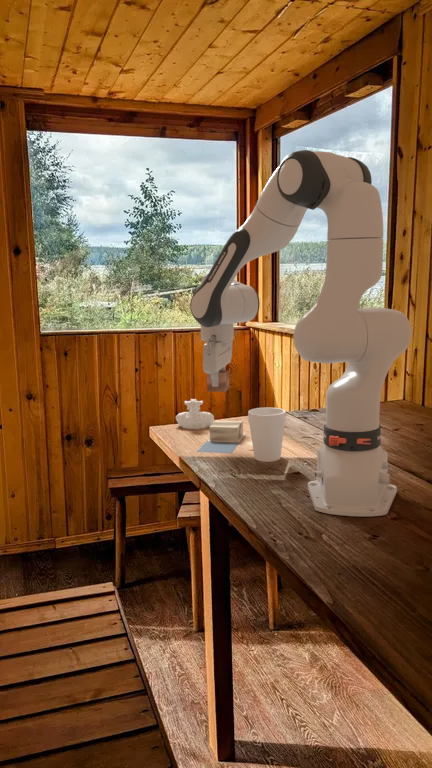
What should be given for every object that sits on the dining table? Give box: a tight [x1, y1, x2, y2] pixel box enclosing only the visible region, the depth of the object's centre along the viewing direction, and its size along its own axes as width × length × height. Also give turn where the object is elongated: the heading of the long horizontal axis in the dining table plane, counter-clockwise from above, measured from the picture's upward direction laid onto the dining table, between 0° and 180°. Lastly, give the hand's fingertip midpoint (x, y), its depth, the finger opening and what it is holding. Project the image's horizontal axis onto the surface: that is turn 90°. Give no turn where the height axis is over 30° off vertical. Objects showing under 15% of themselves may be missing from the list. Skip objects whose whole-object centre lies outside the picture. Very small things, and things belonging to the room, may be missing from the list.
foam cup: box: [247, 407, 287, 463], centre depth 151 cm, size 10×9×13 cm
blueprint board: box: [196, 433, 247, 454], centre depth 167 cm, size 20×10×1 cm, turn 167°
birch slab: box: [209, 419, 244, 442], centre depth 172 cm, size 8×8×4 cm
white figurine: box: [175, 398, 215, 430], centre depth 185 cm, size 12×8×11 cm
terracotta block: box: [206, 369, 230, 393], centre depth 163 cm, size 5×5×5 cm
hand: (218, 384), depth 164 cm, fingers closed on terracotta block, 5 cm apart
